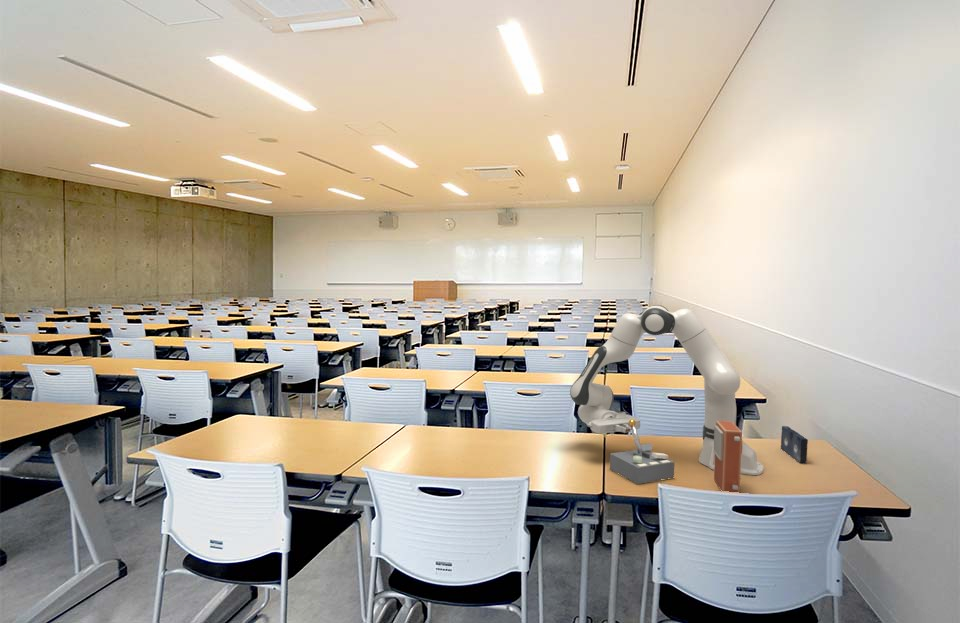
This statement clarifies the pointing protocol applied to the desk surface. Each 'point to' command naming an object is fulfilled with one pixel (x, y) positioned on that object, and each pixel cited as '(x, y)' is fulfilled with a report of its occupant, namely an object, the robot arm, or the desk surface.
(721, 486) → the orange box
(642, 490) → the desk surface
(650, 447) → the grey bar
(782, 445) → the vhs cassette tape
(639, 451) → the lever
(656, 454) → the block
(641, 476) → the console
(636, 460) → the button
